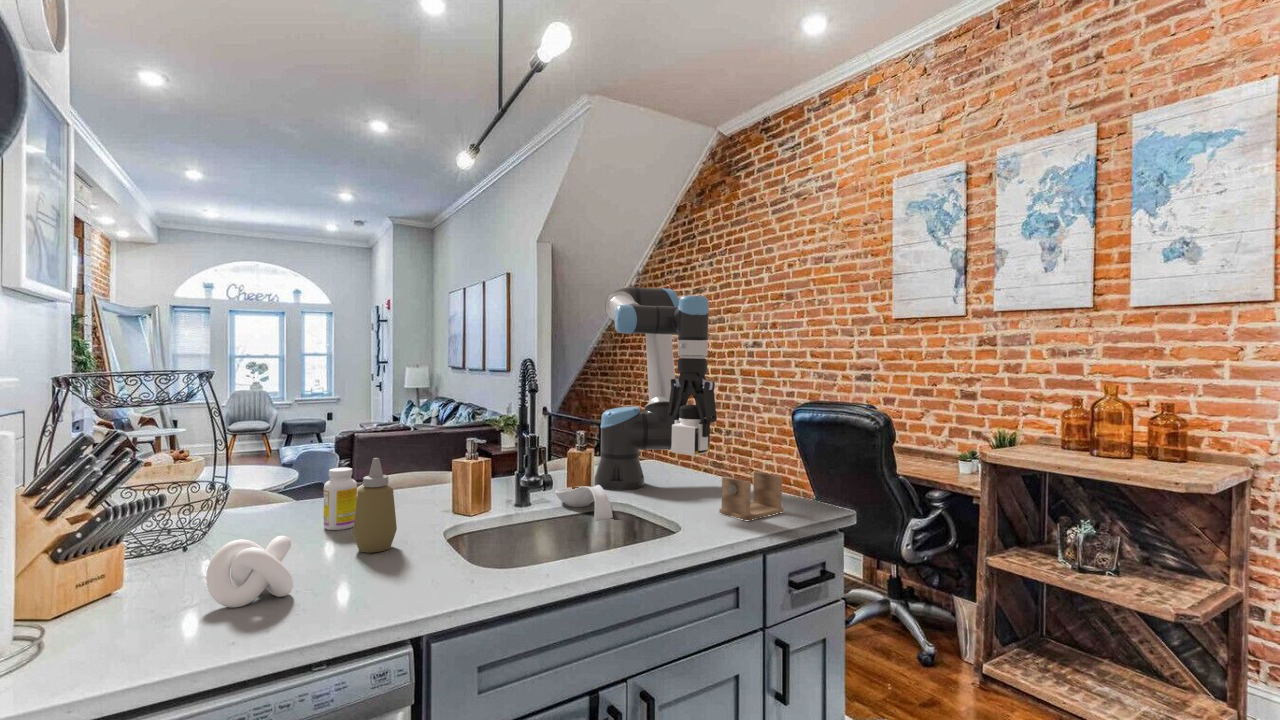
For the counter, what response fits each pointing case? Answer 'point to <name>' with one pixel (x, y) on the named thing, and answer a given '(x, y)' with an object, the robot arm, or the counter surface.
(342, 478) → the supplement bottle
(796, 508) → the counter surface
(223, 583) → the white knot sculpture
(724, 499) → the holder
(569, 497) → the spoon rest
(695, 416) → the medicine bottle
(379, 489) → the squeeze bottle
